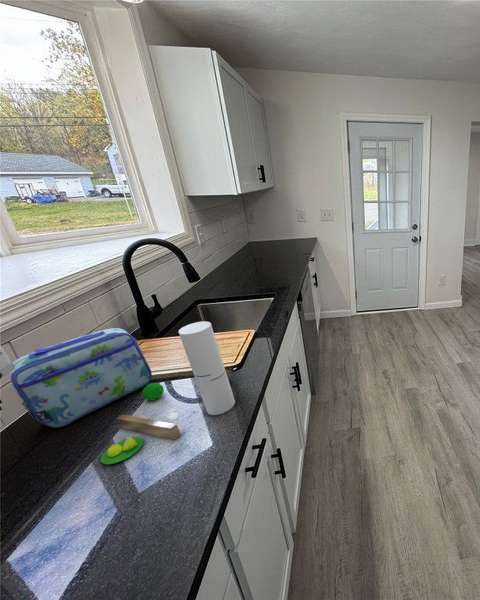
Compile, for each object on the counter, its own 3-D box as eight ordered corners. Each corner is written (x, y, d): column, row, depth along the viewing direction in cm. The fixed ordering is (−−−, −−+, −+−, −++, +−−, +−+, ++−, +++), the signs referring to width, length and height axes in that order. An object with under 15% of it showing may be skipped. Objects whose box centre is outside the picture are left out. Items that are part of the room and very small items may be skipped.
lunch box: (41, 439, 80) (-2, 370, 73) (35, 422, 87) (-5, 357, 79) (158, 385, 100) (134, 326, 92) (146, 374, 106) (123, 318, 98)
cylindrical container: (208, 402, 91) (181, 325, 81) (235, 395, 93) (212, 319, 84) (205, 418, 84) (175, 336, 75) (234, 410, 87) (209, 330, 78)
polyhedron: (152, 405, 91) (146, 391, 89) (141, 401, 93) (136, 388, 91) (169, 394, 95) (164, 381, 93) (159, 391, 97) (153, 378, 95)
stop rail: (122, 428, 82) (117, 418, 81) (128, 424, 84) (123, 413, 83) (175, 439, 78) (170, 428, 77) (181, 434, 79) (176, 424, 78)
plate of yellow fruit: (141, 433, 80) (137, 425, 79) (146, 451, 75) (142, 442, 74) (100, 452, 75) (95, 443, 74) (102, 472, 70) (97, 463, 69)
